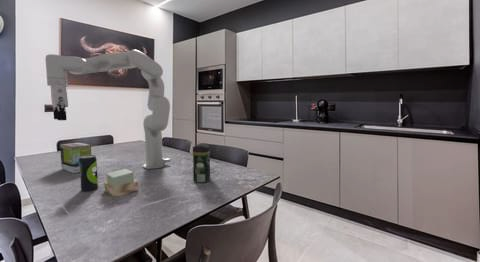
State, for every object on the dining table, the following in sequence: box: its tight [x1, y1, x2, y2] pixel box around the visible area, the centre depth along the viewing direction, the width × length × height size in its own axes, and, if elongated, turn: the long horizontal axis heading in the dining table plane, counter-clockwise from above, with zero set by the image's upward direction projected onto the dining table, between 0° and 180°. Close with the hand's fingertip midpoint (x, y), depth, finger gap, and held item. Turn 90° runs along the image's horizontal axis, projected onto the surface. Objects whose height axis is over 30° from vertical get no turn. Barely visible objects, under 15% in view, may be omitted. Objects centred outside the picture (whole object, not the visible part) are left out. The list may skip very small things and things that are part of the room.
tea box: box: [59, 142, 92, 174], centre depth 133 cm, size 15×10×15 cm, turn 58°
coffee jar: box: [192, 142, 211, 184], centre depth 116 cm, size 10×8×19 cm
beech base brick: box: [103, 178, 139, 198], centre depth 101 cm, size 10×10×5 cm
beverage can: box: [79, 154, 99, 193], centre depth 101 cm, size 6×6×15 cm
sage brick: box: [105, 168, 135, 187], centre depth 100 cm, size 8×8×4 cm
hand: (60, 119), depth 110 cm, fingers open, 9 cm apart
